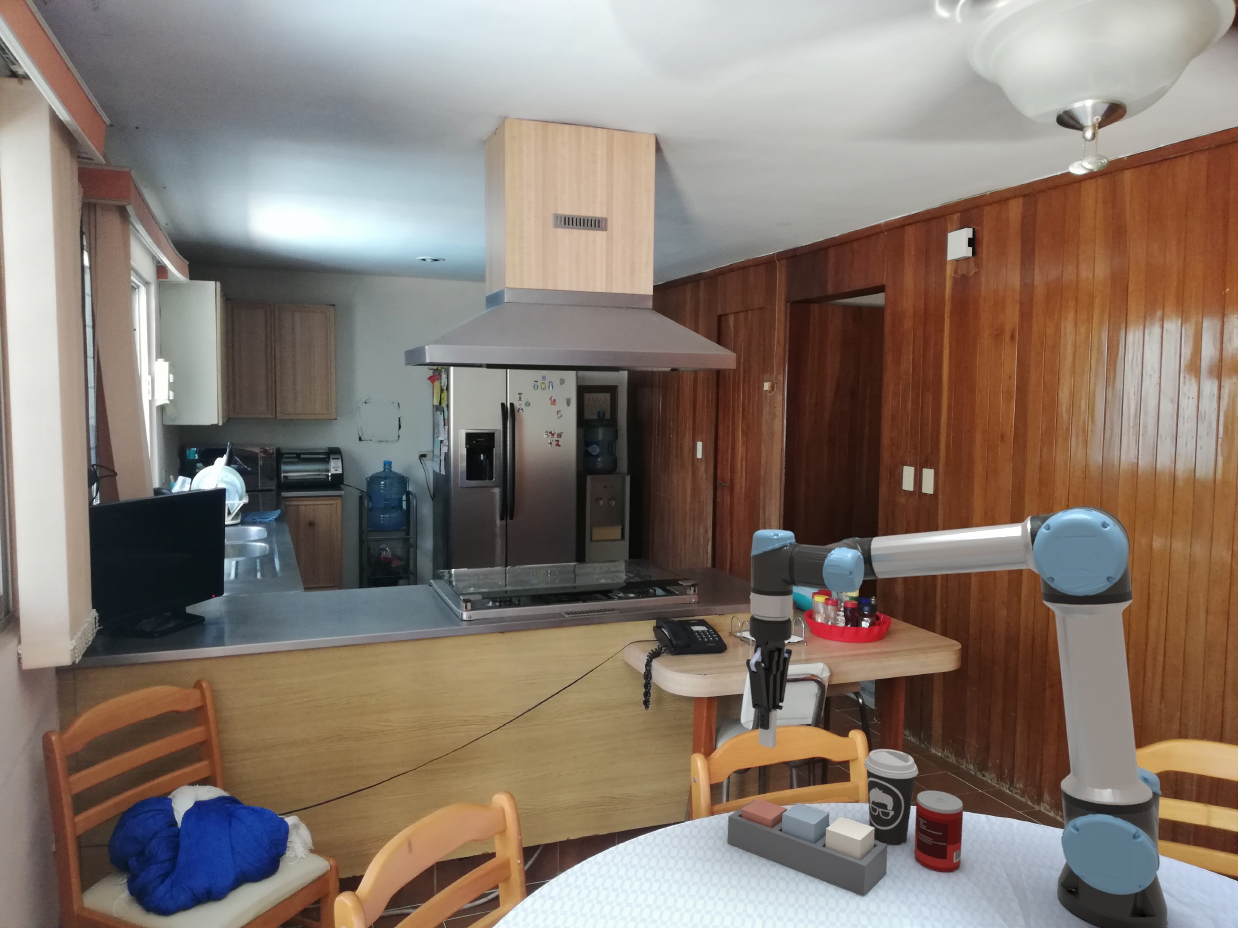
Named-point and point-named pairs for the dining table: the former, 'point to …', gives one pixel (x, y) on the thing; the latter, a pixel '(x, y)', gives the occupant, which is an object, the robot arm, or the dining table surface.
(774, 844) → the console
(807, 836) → the key blue
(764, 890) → the dining table surface
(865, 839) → the key ivory
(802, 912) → the dining table surface
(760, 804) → the key brick
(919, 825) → the canned food
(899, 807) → the coffee cup
